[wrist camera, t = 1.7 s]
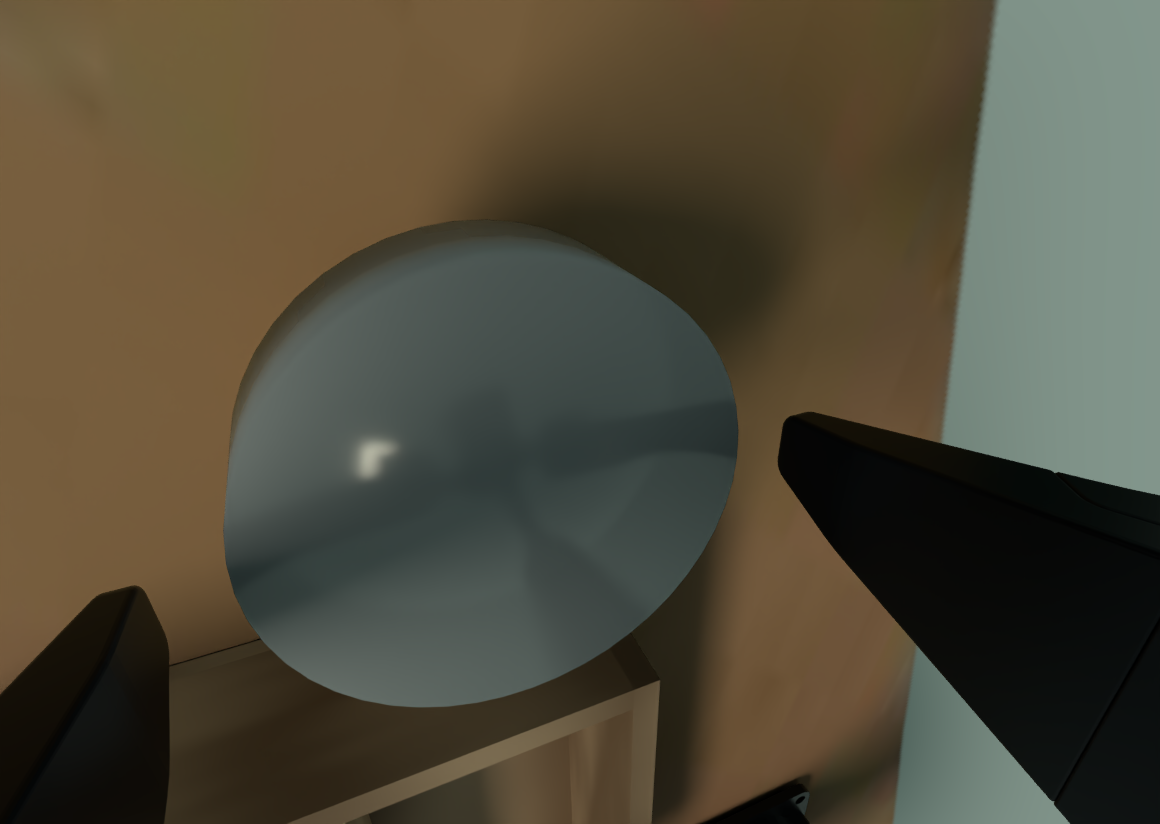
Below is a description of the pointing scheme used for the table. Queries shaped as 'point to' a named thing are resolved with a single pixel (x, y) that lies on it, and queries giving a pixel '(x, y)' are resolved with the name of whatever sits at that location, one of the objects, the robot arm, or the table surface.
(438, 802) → the housing
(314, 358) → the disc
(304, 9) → the table surface
